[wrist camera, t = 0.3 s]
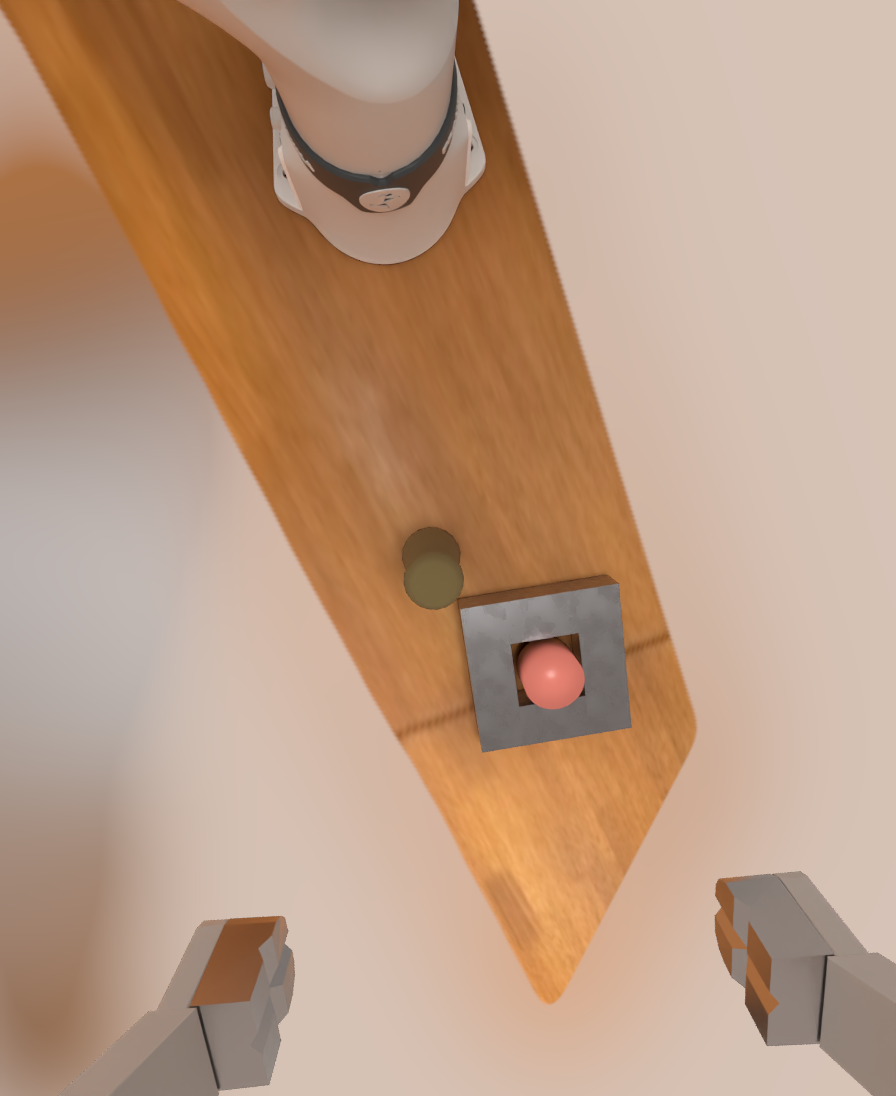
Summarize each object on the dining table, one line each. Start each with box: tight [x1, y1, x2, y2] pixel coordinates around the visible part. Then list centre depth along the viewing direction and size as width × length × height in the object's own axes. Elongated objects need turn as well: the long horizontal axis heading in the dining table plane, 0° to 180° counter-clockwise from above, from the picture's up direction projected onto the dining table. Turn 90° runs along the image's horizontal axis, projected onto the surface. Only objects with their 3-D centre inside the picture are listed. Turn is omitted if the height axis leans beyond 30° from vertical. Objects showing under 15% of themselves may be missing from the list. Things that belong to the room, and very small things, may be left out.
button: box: [517, 638, 585, 709], centre depth 56 cm, size 6×6×4 cm
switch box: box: [458, 575, 631, 752], centre depth 58 cm, size 16×16×4 cm
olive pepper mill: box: [402, 527, 464, 610], centre depth 51 cm, size 6×6×11 cm
